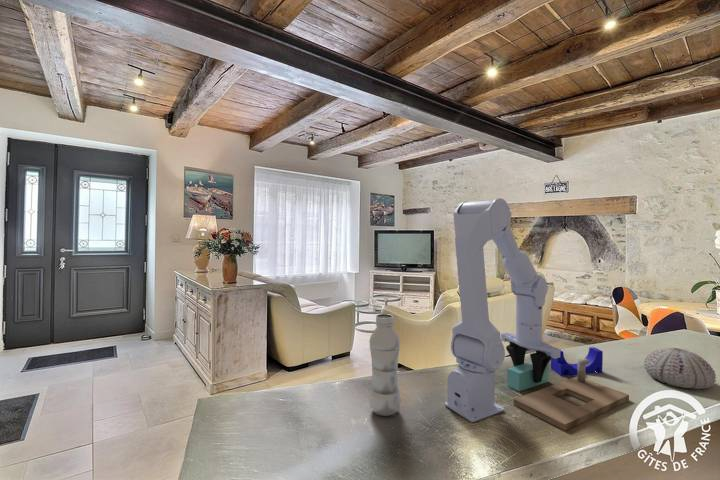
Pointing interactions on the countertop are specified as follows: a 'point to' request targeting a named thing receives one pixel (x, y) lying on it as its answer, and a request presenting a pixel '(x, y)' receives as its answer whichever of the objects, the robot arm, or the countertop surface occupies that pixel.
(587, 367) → the blue concave arch block
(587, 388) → the slotted wooden board
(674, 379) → the sea urchin shell
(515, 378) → the teal rectangular block
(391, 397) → the plastic bottle
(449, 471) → the countertop surface
